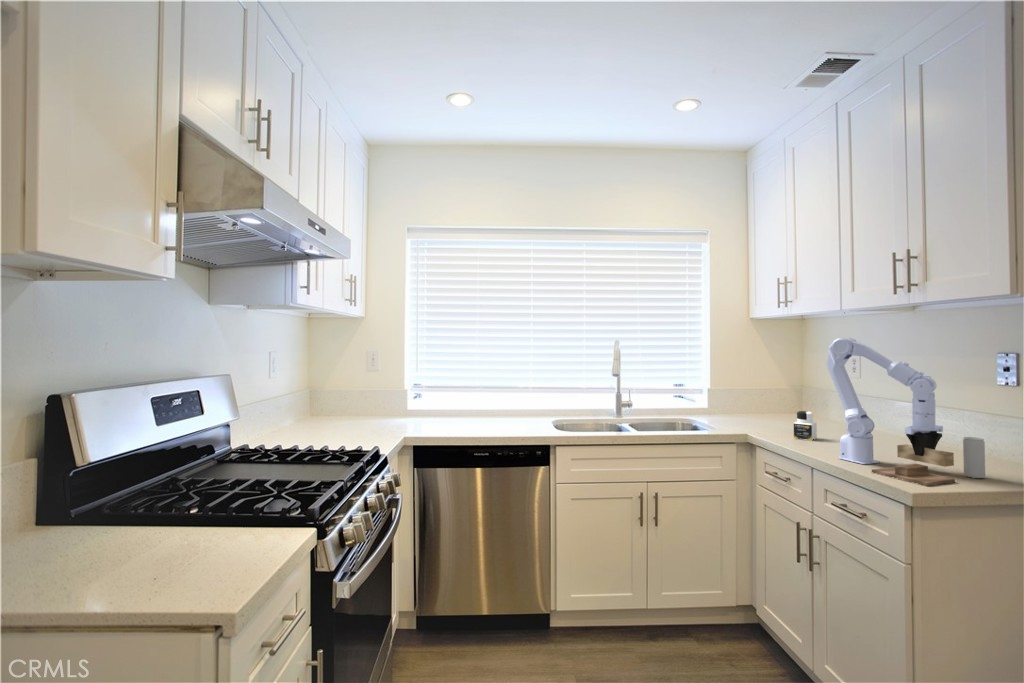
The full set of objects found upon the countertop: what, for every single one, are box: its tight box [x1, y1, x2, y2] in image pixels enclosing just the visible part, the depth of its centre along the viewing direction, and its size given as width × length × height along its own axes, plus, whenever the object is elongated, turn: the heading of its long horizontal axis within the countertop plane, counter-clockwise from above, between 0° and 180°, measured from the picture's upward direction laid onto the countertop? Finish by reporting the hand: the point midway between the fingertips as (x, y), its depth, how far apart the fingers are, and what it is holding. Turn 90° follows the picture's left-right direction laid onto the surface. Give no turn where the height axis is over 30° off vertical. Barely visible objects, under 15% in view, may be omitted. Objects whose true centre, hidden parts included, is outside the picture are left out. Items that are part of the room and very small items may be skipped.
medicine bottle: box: [793, 410, 818, 441], centre depth 212 cm, size 7×7×12 cm
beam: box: [896, 443, 955, 468], centre depth 157 cm, size 14×4×4 cm, turn 16°
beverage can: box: [962, 436, 986, 479], centre depth 149 cm, size 5×5×12 cm
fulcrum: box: [871, 463, 956, 487], centre depth 150 cm, size 16×12×4 cm
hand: (924, 454), depth 157 cm, fingers closed on beam, 4 cm apart
